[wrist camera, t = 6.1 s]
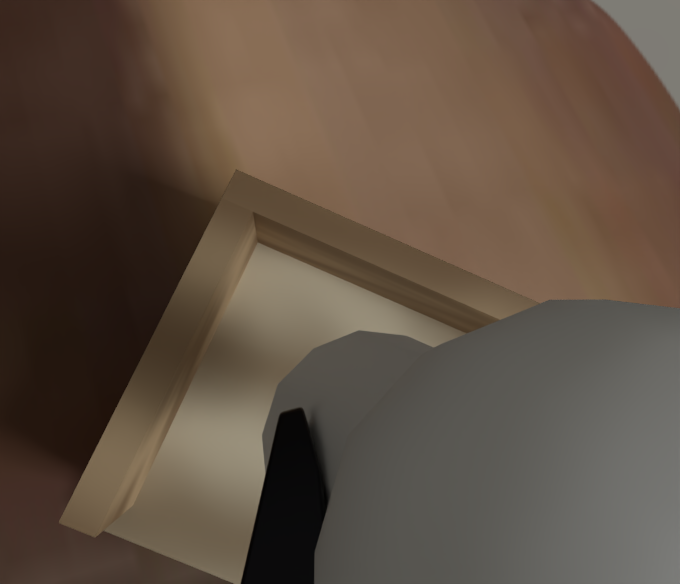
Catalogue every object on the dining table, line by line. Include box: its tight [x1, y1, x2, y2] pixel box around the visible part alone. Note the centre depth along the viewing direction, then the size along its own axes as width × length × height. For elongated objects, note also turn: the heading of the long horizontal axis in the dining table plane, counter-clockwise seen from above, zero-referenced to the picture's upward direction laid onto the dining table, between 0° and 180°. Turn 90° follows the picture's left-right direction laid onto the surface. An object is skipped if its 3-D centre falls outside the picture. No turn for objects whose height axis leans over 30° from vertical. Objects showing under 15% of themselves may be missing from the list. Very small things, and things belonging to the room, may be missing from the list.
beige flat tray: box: [59, 170, 540, 584], centre depth 19 cm, size 14×14×5 cm
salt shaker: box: [262, 300, 680, 584], centre depth 9 cm, size 6×6×13 cm
